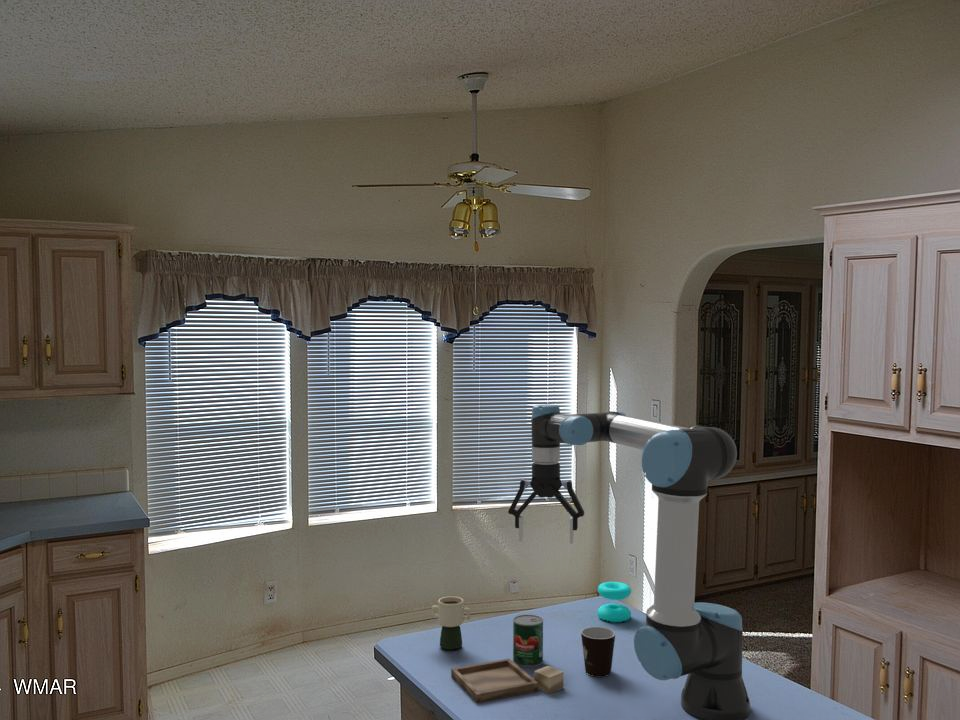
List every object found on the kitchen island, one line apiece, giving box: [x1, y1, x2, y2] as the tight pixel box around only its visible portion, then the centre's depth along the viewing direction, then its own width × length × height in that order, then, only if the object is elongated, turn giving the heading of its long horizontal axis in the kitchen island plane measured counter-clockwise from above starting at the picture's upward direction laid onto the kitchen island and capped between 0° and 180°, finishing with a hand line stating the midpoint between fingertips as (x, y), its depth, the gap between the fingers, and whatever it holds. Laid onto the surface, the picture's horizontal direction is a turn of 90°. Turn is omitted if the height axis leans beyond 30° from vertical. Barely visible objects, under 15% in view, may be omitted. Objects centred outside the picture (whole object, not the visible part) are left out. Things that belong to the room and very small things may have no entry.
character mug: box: [431, 595, 471, 650], centre depth 219 cm, size 11×7×13 cm, turn 78°
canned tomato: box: [512, 614, 544, 668], centre depth 209 cm, size 8×8×11 cm
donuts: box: [597, 581, 632, 623], centre depth 242 cm, size 10×10×10 cm
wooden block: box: [533, 665, 565, 694], centre depth 194 cm, size 5×5×4 cm
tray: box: [450, 658, 539, 704], centre depth 196 cm, size 16×16×2 cm
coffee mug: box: [580, 626, 616, 677], centre depth 204 cm, size 12×9×10 cm
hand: (546, 541), depth 214 cm, fingers open, 13 cm apart
